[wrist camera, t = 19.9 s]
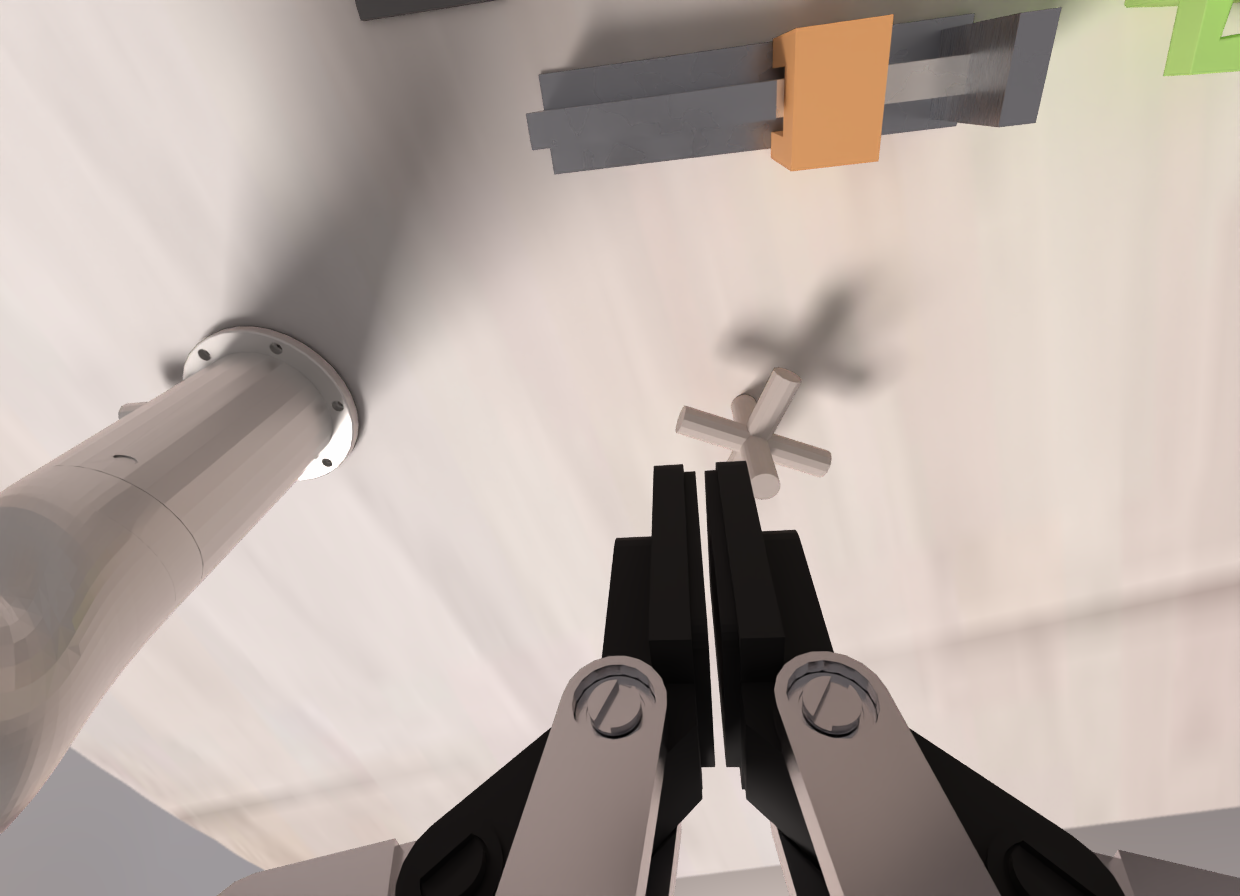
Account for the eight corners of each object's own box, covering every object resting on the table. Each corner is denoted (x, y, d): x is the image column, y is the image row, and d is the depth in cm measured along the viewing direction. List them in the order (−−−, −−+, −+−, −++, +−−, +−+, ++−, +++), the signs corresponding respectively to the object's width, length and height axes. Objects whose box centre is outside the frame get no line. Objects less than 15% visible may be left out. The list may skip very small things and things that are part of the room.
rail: (555, 173, 35) (528, 194, 28) (539, 74, 32) (505, 71, 25) (954, 125, 32) (1032, 135, 25) (972, 13, 29) (1065, -9, 23)
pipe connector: (705, 321, 39) (716, 386, 30) (841, 366, 40) (889, 441, 31) (655, 441, 44) (653, 526, 35) (777, 479, 45) (803, 570, 37)
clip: (770, 157, 33) (791, 171, 28) (772, 38, 30) (795, 28, 25) (843, 149, 33) (878, 161, 27) (852, 27, 30) (893, 14, 24)
